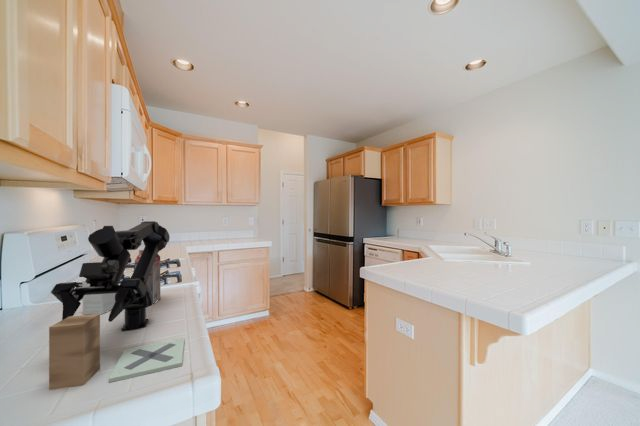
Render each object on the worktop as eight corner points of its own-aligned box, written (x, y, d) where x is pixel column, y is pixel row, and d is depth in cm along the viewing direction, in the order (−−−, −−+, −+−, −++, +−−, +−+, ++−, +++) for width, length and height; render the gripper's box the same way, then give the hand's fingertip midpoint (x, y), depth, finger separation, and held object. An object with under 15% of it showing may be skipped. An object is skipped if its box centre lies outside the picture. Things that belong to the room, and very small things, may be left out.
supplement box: (117, 307, 103) (117, 275, 103) (102, 314, 95) (102, 280, 95) (98, 307, 102) (98, 275, 102) (81, 315, 95) (81, 280, 95)
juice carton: (153, 304, 105) (152, 250, 105) (135, 305, 104) (134, 251, 104) (160, 299, 112) (160, 248, 112) (143, 300, 111) (143, 249, 111)
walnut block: (69, 372, 60) (69, 316, 60) (99, 369, 61) (99, 313, 61) (49, 389, 54) (49, 327, 54) (83, 385, 55) (83, 324, 55)
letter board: (124, 352, 69) (124, 348, 69) (184, 340, 75) (184, 337, 75) (108, 382, 56) (108, 378, 56) (182, 366, 62) (182, 362, 62)
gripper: (56, 250, 65) (16, 310, 54) (141, 248, 69) (120, 303, 58) (78, 275, 72) (46, 332, 61) (153, 271, 76) (136, 324, 66)
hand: (87, 322), depth 61 cm, fingers open, 9 cm apart
